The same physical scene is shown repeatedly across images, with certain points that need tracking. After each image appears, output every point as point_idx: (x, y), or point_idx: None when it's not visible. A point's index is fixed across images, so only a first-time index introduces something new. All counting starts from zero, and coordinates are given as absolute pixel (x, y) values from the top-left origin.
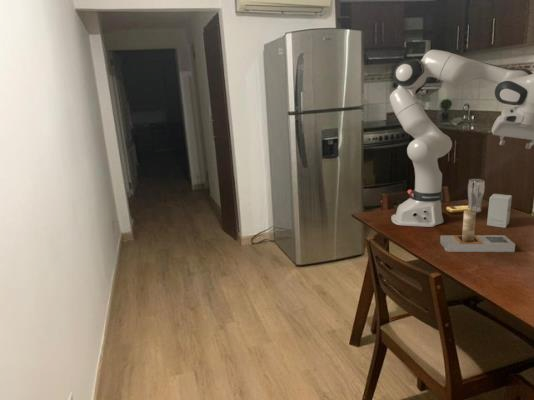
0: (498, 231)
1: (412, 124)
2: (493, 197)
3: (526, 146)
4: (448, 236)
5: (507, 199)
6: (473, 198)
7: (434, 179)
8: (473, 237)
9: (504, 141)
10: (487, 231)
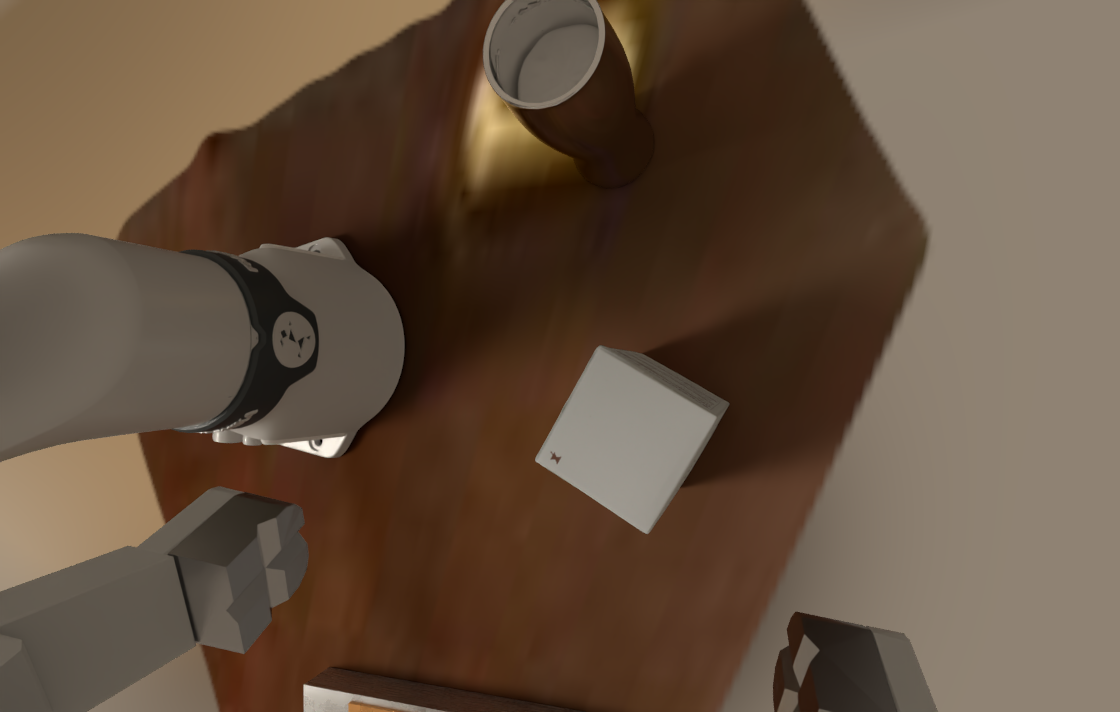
0: (619, 542)
1: None
2: (556, 473)
3: (792, 699)
4: (329, 704)
5: (639, 528)
6: (562, 153)
7: (95, 437)
8: None
9: (224, 624)
10: (565, 537)
